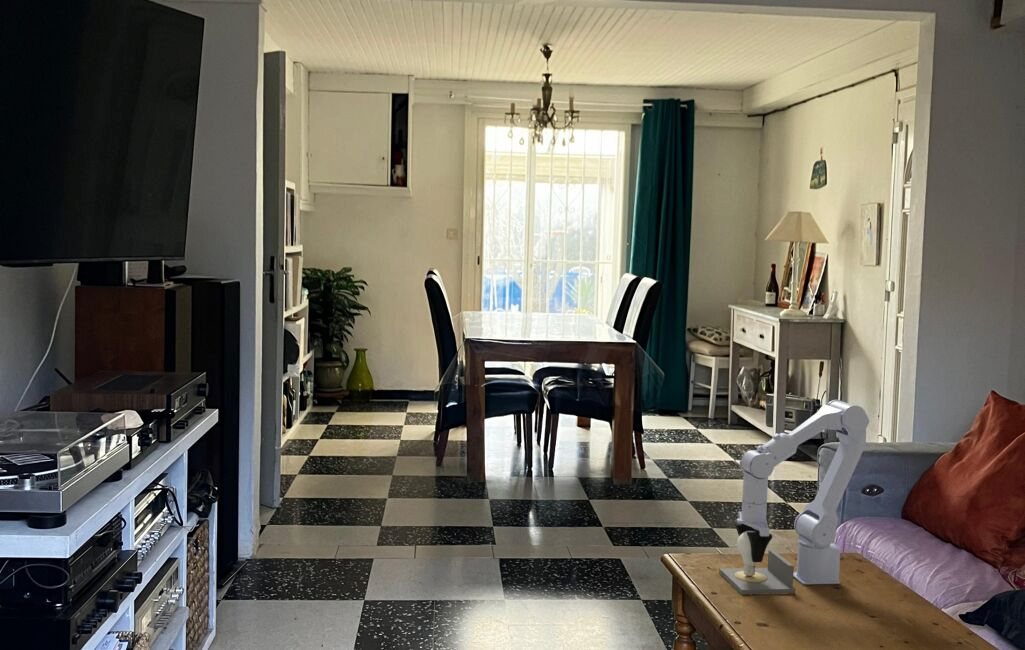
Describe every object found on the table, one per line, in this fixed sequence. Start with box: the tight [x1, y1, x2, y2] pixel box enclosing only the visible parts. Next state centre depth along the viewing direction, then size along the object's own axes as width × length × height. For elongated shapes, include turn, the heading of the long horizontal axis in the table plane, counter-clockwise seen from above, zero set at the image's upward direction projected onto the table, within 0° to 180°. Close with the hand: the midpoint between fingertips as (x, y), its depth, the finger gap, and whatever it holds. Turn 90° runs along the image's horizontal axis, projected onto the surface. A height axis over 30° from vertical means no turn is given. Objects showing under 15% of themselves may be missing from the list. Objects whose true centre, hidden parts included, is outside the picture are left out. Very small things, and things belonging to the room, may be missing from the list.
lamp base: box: [718, 549, 796, 596], centre depth 234 cm, size 13×15×6 cm
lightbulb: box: [736, 531, 758, 577], centre depth 234 cm, size 6×6×11 cm
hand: (751, 557), depth 235 cm, fingers closed on lightbulb, 6 cm apart
